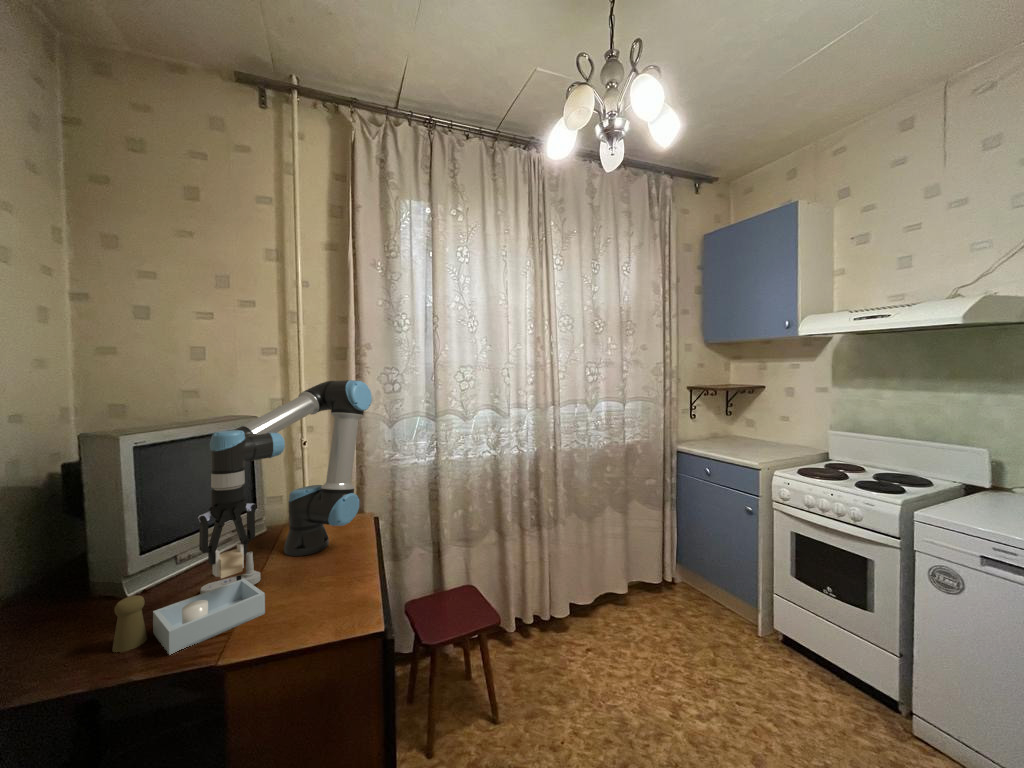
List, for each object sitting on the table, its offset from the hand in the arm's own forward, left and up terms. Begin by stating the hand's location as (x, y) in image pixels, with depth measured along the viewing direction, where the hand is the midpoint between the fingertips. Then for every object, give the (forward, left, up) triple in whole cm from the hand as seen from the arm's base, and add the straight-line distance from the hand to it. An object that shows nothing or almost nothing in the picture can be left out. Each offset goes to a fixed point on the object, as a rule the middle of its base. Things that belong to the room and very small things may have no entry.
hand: (228, 570), depth 107 cm
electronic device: (-5, -14, -12) cm, 19 cm away
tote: (+5, +3, -11) cm, 12 cm away
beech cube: (0, 0, 0) cm, 0 cm away
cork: (+19, -3, -11) cm, 22 cm away
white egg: (+9, +6, -10) cm, 15 cm away
